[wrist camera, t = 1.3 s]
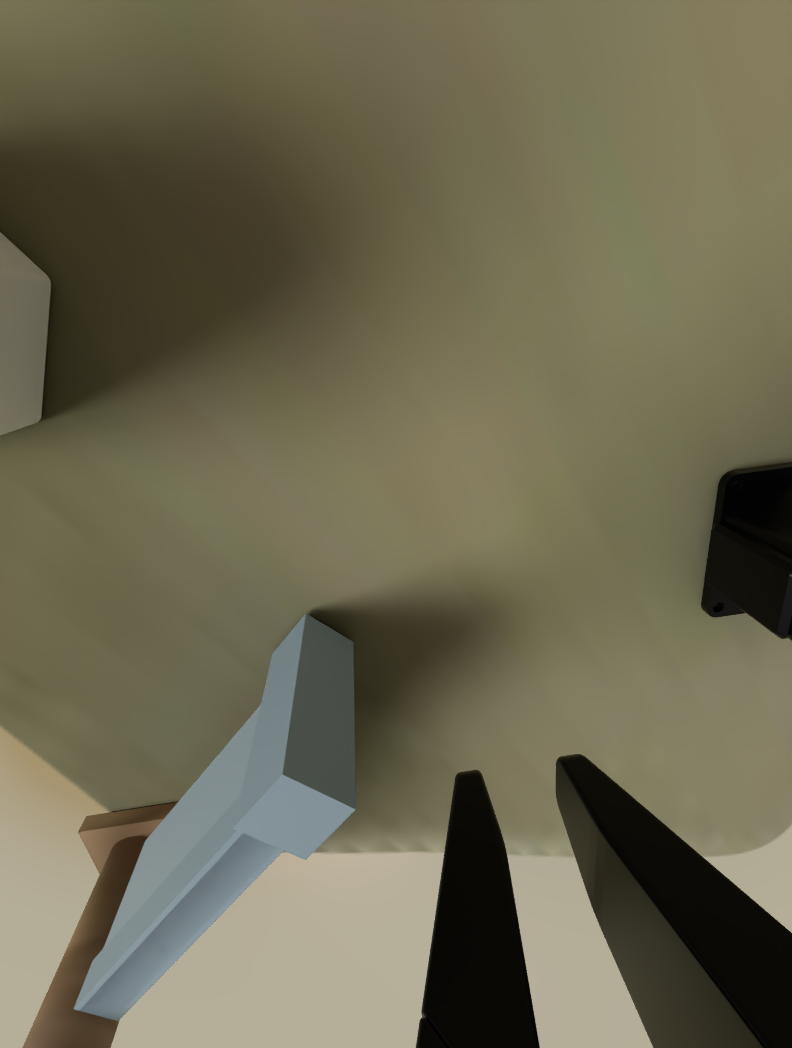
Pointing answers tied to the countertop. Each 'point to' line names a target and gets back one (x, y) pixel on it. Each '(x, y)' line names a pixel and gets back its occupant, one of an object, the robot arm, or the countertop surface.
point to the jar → (21, 337)
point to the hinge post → (94, 928)
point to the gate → (238, 817)
